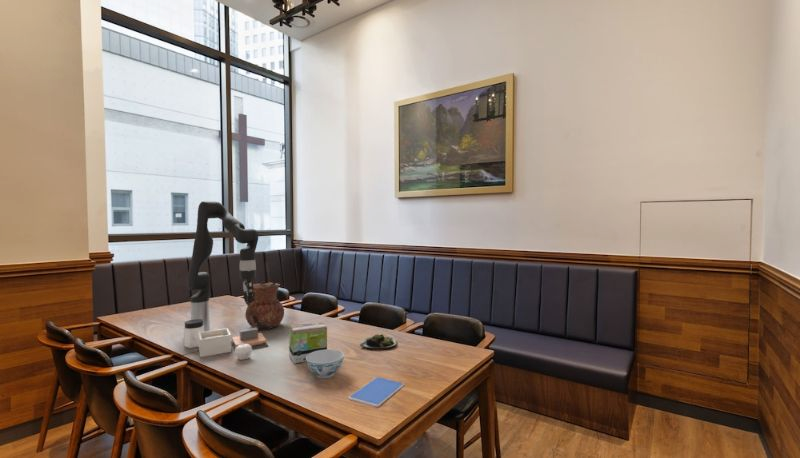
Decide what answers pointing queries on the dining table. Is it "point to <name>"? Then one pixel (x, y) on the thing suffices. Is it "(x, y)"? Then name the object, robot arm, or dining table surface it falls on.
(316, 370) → the chinaware
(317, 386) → the dining table surface
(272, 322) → the jug
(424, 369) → the dining table surface
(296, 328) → the tea box
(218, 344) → the storage box
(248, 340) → the lid
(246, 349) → the plain white apple
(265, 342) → the mat
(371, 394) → the tablet computer
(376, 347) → the salad plate
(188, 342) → the jar
